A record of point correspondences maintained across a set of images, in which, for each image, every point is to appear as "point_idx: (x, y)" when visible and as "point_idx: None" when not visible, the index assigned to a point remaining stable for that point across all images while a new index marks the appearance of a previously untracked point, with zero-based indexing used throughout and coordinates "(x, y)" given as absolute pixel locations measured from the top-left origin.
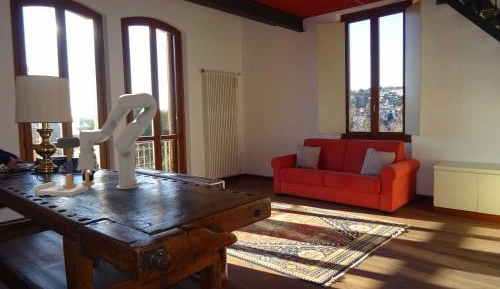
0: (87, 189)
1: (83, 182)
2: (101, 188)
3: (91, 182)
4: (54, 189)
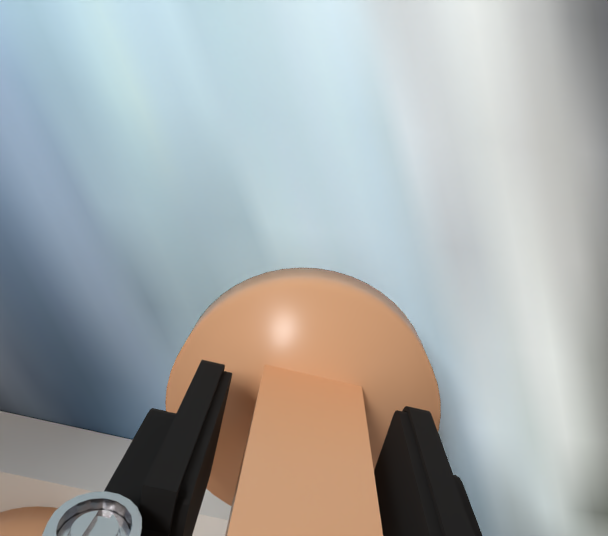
0: None
1: None
2: (549, 367)
3: None
4: None
